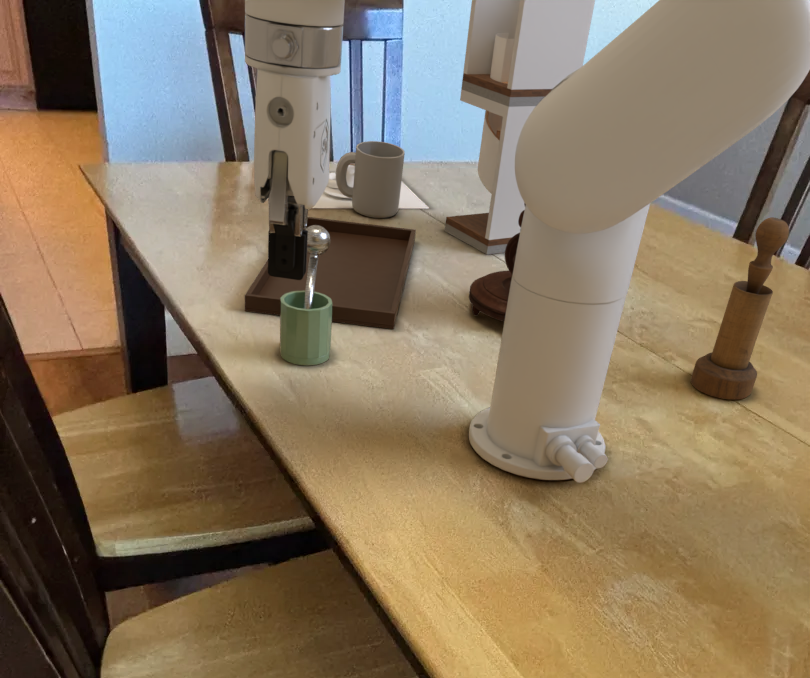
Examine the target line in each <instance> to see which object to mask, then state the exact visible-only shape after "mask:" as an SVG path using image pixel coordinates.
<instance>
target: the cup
mask: <svg viewBox="0 0 810 678" xmlns="http://www.w3.org/2000/svg"><path fill="white" fill-rule="evenodd" d="M405 153H406V151H405V150H404V148H402V147H401V146H399V145H396V144H393V143H390V142H386V141H378V140H366V141H362V142H360V143H357V144H356V146H355V152H354V151H350V152H346V153H344V154H343V155H342V156H340V158H339V160H338V161H337V165H336V168H335V173H336V183H337V186H338V189H339V190H340V192H341V193H342V194H343V195H345V196H346V197H349V198H352V206H353V208H352V209H353V210H354V211H355V212H356V213H358V214H359V215H362V216H365V217H368V218H373V219H374V218H375V219H386V218H391V217H393V216H395V215H396V214H397V212H398V211H399V208H398V207H399V199H400V190H401V182H403V181H402V180H403V173H404V165H405ZM352 164H354V166H355V170H354V183H353V188H352V187H349V186H348V184H347V180H346V173H347V168H348V166H349V165H352Z"/></svg>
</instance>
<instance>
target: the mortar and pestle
mask: <svg viewBox="0 0 810 678" xmlns="http://www.w3.org/2000/svg"><path fill="white" fill-rule="evenodd" d="M754 234H755V235H754V236H755V242H756V249H757V256H756V257H755V258H754V260H752V261H750V262H749V263H748V269H747V280H739V281H735V282H734V283H733V285H732V287H731V291H730V295H729V298H728V301H727V304H726V308H725V310H724V313H723V317H722V320H721V324H720V325H719V326H720V327H719V330H718V333H717V336H716V340H715V341H714V346H713V349H712V352H709V353H706V354H705V355H703V356H700V357H699V358H698V359H697V360H696V361H695V364H694V367H693V371H692V372H691V376H690V384H691V385H692V386H693V387H694V388H695V390H698V391H699V392H701V393H703V394H705V395H707V396H710V397H714V398H718V399H722V400H734V401H735V400H742V399H746V398H747V397H748V396H750V395H751V394H752V392H753V389H754V387H755V383H756V380H757V377H758V371H757V369H756V368H755V367H754V365H753V364H752V362H750V360H751V358H752V355H753V351H754V349H755V345H756V342H757V340H758V336H759V333H760V330H761V328H762V324H763V322H764V319H765V316H766V313H767V310H768V308H769V304H770V301H771V299H772V296H773V293H774V291H773V289H772V288H770V287H769V286H767V285H764V284H765V283H766V281H767V279H768V278H769V276H770V275H771V273H772V271H773V269H774V266H773V265H772V258H773V256H774V255H775V253H776V252H777V251H778V250H780V248H781V247H782V246H784V244H785V243H786V242H787V240H788V238H789V236H790V228H789V225H788V223H787V221H785V220H783V219H781V218H778V217H767V218H765V219H763V220H762V221H761V223H759V224H758V226H757V228H756V231H755V233H754Z"/></svg>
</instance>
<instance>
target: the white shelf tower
mask: <svg viewBox="0 0 810 678" xmlns="http://www.w3.org/2000/svg"><path fill="white" fill-rule="evenodd" d="M595 3H596V0H471V4H470V6H471V7H470V14H469V22H468V30H467V38H466V48H465V55H464V65H463V72H462V73H463V74H462V81H461V89H460V99H459V101H461V102H463V103H466V104H468V105H471V106H474V107H476V108H478V109H482V110H484V111H485V112H484V118H483V125H482V132H481V133H482V134H481V141H480V148H479V156H478V163H477V174H478V177H479V180H480V181H481V183H482V185H483V187H484V188H485V189H486V191H488V192H489V193H490V194H491V196H490V202H489V210H488V212H480V213H473V214H472V213H471V214H462V215H451V216H446V217H445V223H444V232H446V233H447V234H449V235H451V236H453V237H455V238H457V239H458V240H460V241H461V242H464V243H465V244H467V245H469V246H470V247H472V248H474V249H476V250H478V251H479V252H481V253H483V254H485V255H493V254H503V253H505V249H506V246H507V244H508V242H509V240H510V239H511V238H512V237H513V236H514V235H516V234H518V233H520V229H521V227H520V226H519V223H518V220H519V216H520V214H521V212H522V211H523V210H525V205H524V201H523V199H522V197H521V194H520V192H519V189H518V186H517V182H516V176H515V152H516V147H517V142H518V139H519V136H520V133H521V130H522V128H523V126H524V124H525V122H526V120H527V118H528V117H529V115H530V114H531V112H532V111H533V109H534V108H535V107H536V106H537V105H538V104H539V102H540V101H541V100H542V99H543V98H545V97H546V96H547V95H548V94H549V92H550V91H551V90H552V89H553V88H554V87H555V86H556V85H557V84H558V83H560V82H561V81H562V80H563V79H564V78H566V77H567V76H568V75H570V74H571V73H573V72H574V71H576V70H578V69H580V68H581V67H582V66H583V65H584V63H585V62H584V61H585V56H586V51H587V45H588V40H589V35H590V30H591V24H592V20H593V15H594V8H595Z"/></svg>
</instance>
